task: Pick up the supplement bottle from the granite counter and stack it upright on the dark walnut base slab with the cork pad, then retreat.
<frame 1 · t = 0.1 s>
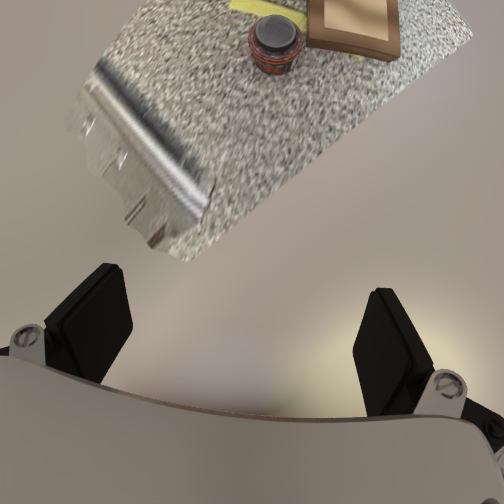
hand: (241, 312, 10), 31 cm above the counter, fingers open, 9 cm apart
base slab: (349, 18, 28), on the counter
supplement bottle: (275, 56, 32), on the counter
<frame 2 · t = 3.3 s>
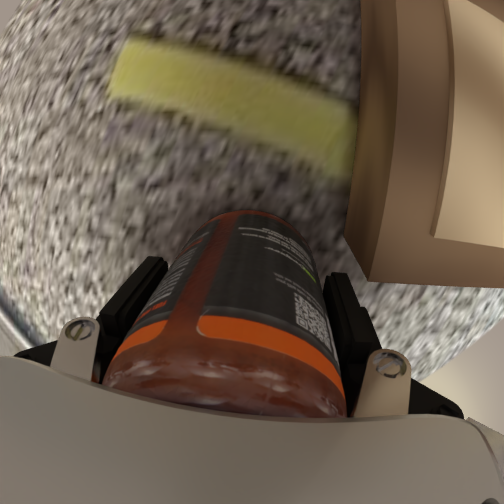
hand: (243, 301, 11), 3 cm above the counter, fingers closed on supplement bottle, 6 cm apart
base slab: (472, 130, 9), on the counter
supplement bottle: (249, 266, 13), on the counter, touching gripper
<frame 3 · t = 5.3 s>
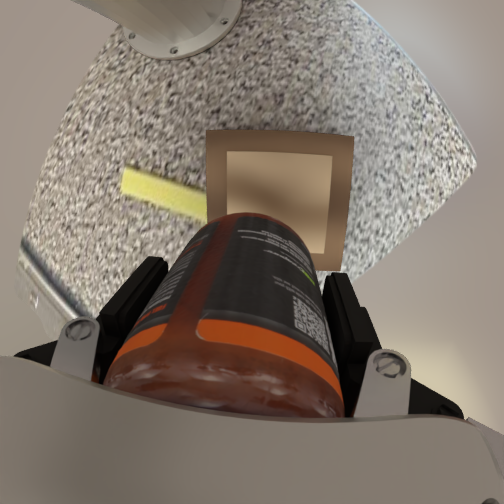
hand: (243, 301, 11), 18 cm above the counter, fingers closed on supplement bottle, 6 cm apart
base slab: (278, 193, 27), on the counter
supplement bottle: (249, 268, 13), point 15 cm above the counter, touching gripper
when the fingers open (8 cm above the counter, at t = 7.8 s): supplement bottle stays where it is, resting on base slab.
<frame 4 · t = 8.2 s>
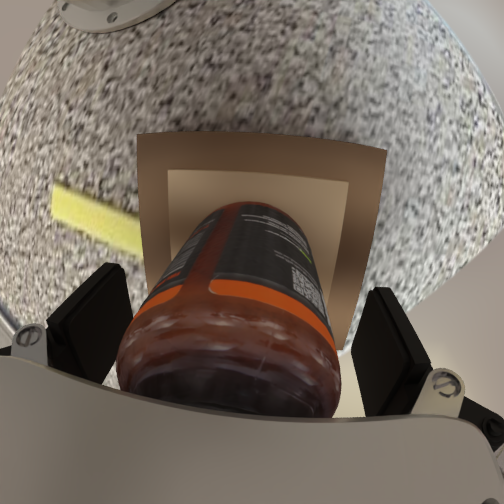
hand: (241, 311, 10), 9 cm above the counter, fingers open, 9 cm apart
base slab: (257, 229, 18), on the counter
supplement bottle: (251, 255, 14), point 4 cm above the counter, touching base slab
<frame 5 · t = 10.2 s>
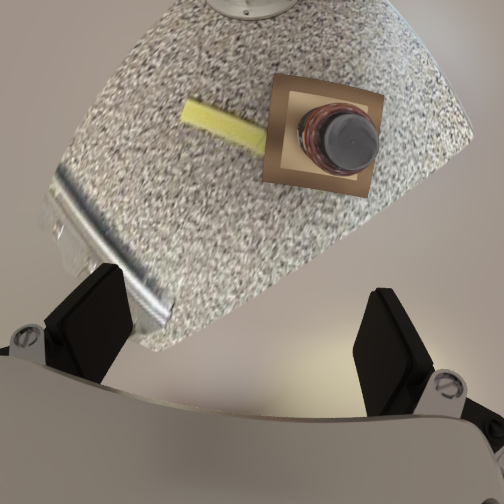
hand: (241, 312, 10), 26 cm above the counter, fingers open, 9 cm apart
base slab: (319, 134, 31), on the counter
supplement bottle: (324, 134, 27), point 4 cm above the counter, touching base slab
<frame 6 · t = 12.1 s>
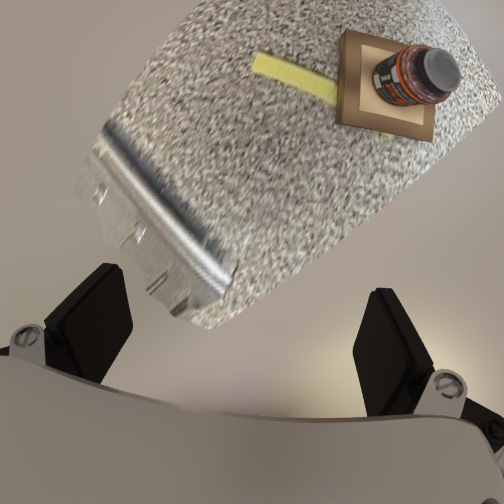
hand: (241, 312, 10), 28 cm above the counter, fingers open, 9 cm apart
base slab: (382, 88, 29), on the counter
supplement bottle: (393, 83, 26), point 4 cm above the counter, touching base slab
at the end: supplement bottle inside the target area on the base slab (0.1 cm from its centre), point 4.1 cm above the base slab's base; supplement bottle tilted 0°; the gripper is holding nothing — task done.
